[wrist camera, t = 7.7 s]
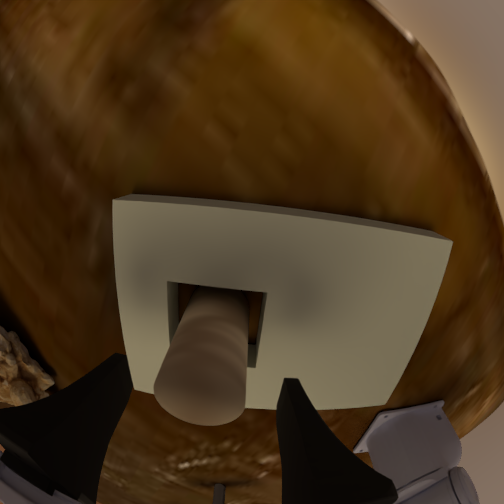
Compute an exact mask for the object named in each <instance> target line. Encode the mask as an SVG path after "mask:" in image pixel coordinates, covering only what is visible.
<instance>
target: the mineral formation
mask: <svg viewBox="0 0 504 504" xmlns="http://www.w3.org/2000/svg"><path fill="white" fill-rule="evenodd" d="M53 384H54V380H53V378H52V377H51V376H50V375H49V374H47V373H46V372H45V371H44V370H43V368H41V367H40V365H39V363H38V362H37V361H36V360H33V359H32V358H31V357H30V356H29V353H28V350H27V348H26V347H25V346H24V345H23V344H22V343H21V342H20V339H19V337H18V335H17V334H16V333H15V332H13V331H9V332H7V331H6V330H5V329H4V328H3V327H2V326H0V402H6V403H9V404H11V405H13V404H15V406H20V405H24V404H28V403H31V402H34V401H37V400H40V399H42V398H45V397H47V396H49V395H48V393H46V392H45V390H46V389H47V388H49V387H50V386H52V385H53Z"/></svg>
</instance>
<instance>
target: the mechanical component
mask: <svg viewBox="0 0 504 504" xmlns="http://www.w3.org/2000/svg"><path fill="white" fill-rule="evenodd" d="M225 489H226V487H224V486H223V485H222V484H215V487H214V496H213V504H224V501H225Z"/></svg>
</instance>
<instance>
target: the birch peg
mask: <svg viewBox="0 0 504 504" xmlns="http://www.w3.org/2000/svg"><path fill="white" fill-rule="evenodd" d="M248 331H249V304H248V301H247V298H246V297H245V295H244V294H243V293H242V292H241V291H240V290H238V289H229V288H220V287H211V286H203V285H202V286H200V287H199V288H197V289H196V290H195V292H194V293H193V294H192V296H191V298H190V301H189V303H188V305H187V307H186V310H185V312H184V314H183V316H182V319H181V321H180V323H179V325H178V328H177V330H176V332H175V335H174V337H173V339H172V342H171V344H170V346H169V349H168V351H167V353H166V356H165V358H164V360H163V363H162V365H161V368H160V370H159V372H158V375H157V377H156V380H155V382H154V388H153V389H154V394H155V397H156V399H157V401H158V402H159V404H160V405H161V406H162V407H163V408H164V409H165V410H166V411H168V412H169V413H170V414H172V415H173V416H175V417H177V418H179V419H181V420H184V421H186V422H189V423H193V424H198V425H210V426H212V425H221V424H225V423H228V422H231V421H233V420H235V419H236V418H238V417H239V416H240V415H241V414H242V412H243V411H244V409H245V404H246V379H247V355H248Z"/></svg>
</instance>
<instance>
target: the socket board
mask: <svg viewBox="0 0 504 504" xmlns="http://www.w3.org/2000/svg"><path fill="white" fill-rule="evenodd" d="M452 244H453V241H451V240H449V239H447V238H445V237H443V236H441V235H439V234H437V233H435V232H433V231H429V230H424V229H419V228H414V227H409V226H404V225H398V224H393V223H387V222H381V221H375V220H369V219H363V218H357V217H351V216H345V215H338V214H331V213H324V212H317V211H310V210H303V209H295V208H287V207H279V206H270V205H262V204H253V203H243V202H233V201H223V200H212V199H200V198H188V197H174V196H159V195H142V194H130V195H127V196H123V197H120V198H117V199H114V200H113V245H114V262H115V275H116V285H117V295H118V303H119V311H120V318H121V325H122V331H123V337H124V343H125V348H126V353H127V358H128V363H129V368H130V373H131V377H132V381H133V386H134V389H135V390H139V391H143V392H147V393H152V394H154V389H153V388H154V382H155V380H156V377H157V375H158V372H159V370H160V368H161V365H162V363H163V360H164V358H165V356H166V353H167V351H168V349H169V346H170V344H171V342H172V339H173V337H174V335H175V332H176V330H177V328H178V325H179V310H178V282H179V283H187V284H195V285H203V286H211V287H220V288H229V289H238V290H247V291H257V292H263V298H262V305H261V312H260V319H259V326H258V333H257V339H256V345H251V344H248V355H247V379H246V404H245V408H258V409H276V406H277V402H278V398H279V395H280V391H281V387H282V384H283V380H284V378H298V379H299V380H300V383H301V385H302V387H303V388H304V390H305V392H306V394H307V396H308V397H309V399H310V401H311V403H312V404H313V406H314V407H315V409H316V410H323V409H343V408H357V407H367V406H377V405H385V404H386V402H387V400H388V399H389V397H390V395H391V394H392V392H393V390H394V388H395V387H396V385H397V383H398V381H399V379H400V378H401V376H402V374H403V372H404V370H405V368H406V366H407V364H408V362H409V360H410V358H411V356H412V354H413V352H414V350H415V348H416V346H417V343H418V341H419V339H420V337H421V334H422V332H423V330H424V327H425V325H426V323H427V320H428V318H429V315H430V313H431V310H432V307H433V305H434V302H435V299H436V296H437V294H438V291H439V288H440V285H441V282H442V279H443V276H444V272H445V269H446V266H447V262H448V259H449V255H450V251H451V248H452Z"/></svg>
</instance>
